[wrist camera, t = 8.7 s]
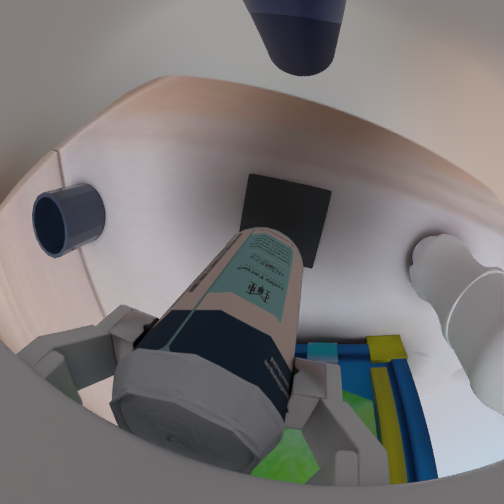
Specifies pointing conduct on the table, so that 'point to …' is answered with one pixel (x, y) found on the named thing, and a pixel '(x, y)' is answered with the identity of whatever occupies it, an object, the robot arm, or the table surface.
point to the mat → (287, 211)
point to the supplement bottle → (219, 358)
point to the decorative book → (365, 411)
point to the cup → (67, 218)
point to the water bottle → (465, 310)
